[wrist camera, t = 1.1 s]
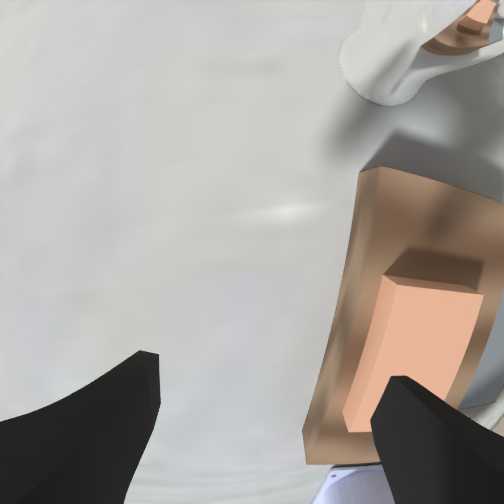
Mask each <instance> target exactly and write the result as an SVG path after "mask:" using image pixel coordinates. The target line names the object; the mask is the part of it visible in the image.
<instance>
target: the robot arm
mask: <svg viewBox="0 0 504 504" xmlns="http://www.w3.org/2000/svg"><path fill="white" fill-rule="evenodd" d="M160 404H161V399H160V377H159V354H155V353H150V352H145V351H141V350H139V351H138V352H136V353H135V354H133V355H132V356H130V357H129V358H127V359H126V360H125V361H123V362H122V363H120V364H119V365H117V366H116V367H114V368H113V369H111V370H110V371H108V372H107V373H105V374H104V375H102V376H101V377H99V378H98V379H96V380H95V381H93V382H91V383H90V384H88V385H86V386H85V387H83V388H81V389H79V390H78V391H76V392H74V393H72V394H70V395H69V396H67V397H65V398H63V399H61V400H59V401H57V402H55V403H53V404H50V405H48V406H46V407H43V408H41V409H38V410H36V411H33V412H31V413H28V414H25V415H21V416H18V417H15V418H11V419H8V420H4V421H1V422H0V504H124V500H125V496H126V493H127V490H128V488H129V485H130V482H131V480H132V478H133V475H134V473H135V471H136V468H137V466H138V464H139V462H140V459H141V457H142V455H143V452H144V450H145V448H146V446H147V443H148V441H149V439H150V436H151V434H152V432H153V429H154V425H155V422H156V419H157V415H158V412H159V408H160ZM370 424H371V429H372V435H373V439H374V444H375V447H376V450H377V453H378V456H379V459H380V462H381V465H371V466H358V467H338V468H333V469H331V470H330V472H329V474H328V476H327V478H326V479H325V481H324V483H323V485H322V487H321V489H320V490H319V492H318V494H317V496H316V498H315V499H314V501H313V503H312V504H504V437H503V436H501V435H499V434H497V433H494V432H493V431H491V430H489V429H487V428H485V427H483V426H481V425H480V424H478V423H476V422H475V421H473V420H471V419H470V418H468V417H467V416H465V415H464V414H462V413H461V412H459V411H458V410H456V409H455V408H453V407H452V406H450V405H449V404H447V403H446V402H445V401H443V400H442V399H440V398H439V397H438V396H436V395H435V394H433V393H432V392H431V391H429V390H428V389H427V388H425V387H424V386H422V385H421V384H419V383H418V382H416V381H415V380H413V379H412V378H410V377H408V376H406V375H402V376H391V377H390V379H389V381H388V384H387V386H386V388H385V390H384V392H383V395H382V397H381V399H380V401H379V403H378V405H377V407H376V409H375V411H374V413H373V415H372V417H371V419H370Z"/></svg>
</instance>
